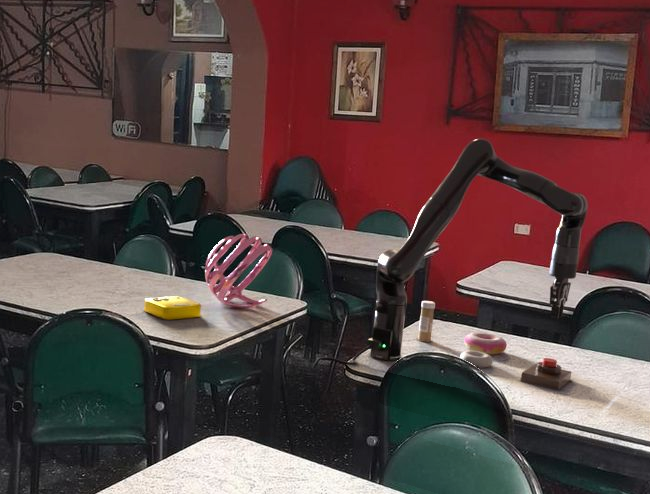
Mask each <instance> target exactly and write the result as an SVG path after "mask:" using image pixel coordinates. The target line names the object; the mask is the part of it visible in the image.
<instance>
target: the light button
mask: <svg viewBox="0 0 650 494" xmlns="http://www.w3.org/2000/svg"><path fill="white" fill-rule="evenodd" d="M542 362H543V364H542V365H543V366H546V367H551V368H556V365H558V361H557V360H556V359H554V358H551V357H549V358H548V357H543V358H542Z"/></svg>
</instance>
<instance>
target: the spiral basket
mask: <svg viewBox="0 0 650 494" xmlns="http://www.w3.org/2000/svg"><path fill="white" fill-rule="evenodd" d="M239 240H240V241H239ZM238 241H239V243H238V245H236V248H234V250H233V251H232V252H231V253H230V254H229V255H228V256H227V257H226V259H224V261H223V262H222V263H221V264H220V265H219V263H218V262H219V260H220V259H221V258H223V256H225V254H226V253H227V251H228V250H229V249H230V248H231V247H232V246H233V245H234V244H235V243H237V242H238ZM225 242H226V243H225ZM224 243H225V244H224ZM223 244H224V245H223ZM252 244H253V245H252ZM222 245H223V246H222ZM221 246H222V247H221ZM250 246H252V247H251V248H250V250H249V252H248V253H247V254H246V256H245V257H244V258H243V259H242V261H241V262H240V263H239V264H238V265H237V267H236V268H234V270H233V271H232V272H231V273H230V274H229V275H228V276H225V274H224V273H225V271H226V270H227V269H228V268H229V267H230V265H231V264H233V262H234V261H235V260H236V259H237V258H238V257H239V255H241V254H242V253H243V252H244V251H245V250H246V249H247V248H248V247H250ZM220 247H221V248H220ZM219 248H220V249H219ZM218 249H219V250H218ZM217 250H218V251H217ZM273 251H274V250H273V247H272V245H270V244H269V243H264V244H263V240H262V238H261V237H259V236H255V235H254V236H249V235H248V234H247V233H239V234H237V235H229V236H226V237H224V238H223V239H221V240H220V241H219V242H218V244H216V245H215V246H214V247H213V249H212V250H211V251H210V253H209V254H208V255H207V258H206V261H205V264H204V265H205V266H204V277H205V282H206V285H207V288H208V289H209V291H210V293H211V294H212V295H213V296H214V298H216V299H217V301H219V302H220V303H222V304H224V305H225V306H228V307H232V308H236V309H250V308H254V307H258V306H260V305H263V304H264V303H266V302H267V301H268V298H263V299H261V300H256V299H252V298H250V297H247V296H246V295H244V294H243V293H242V292H243V291H244V290H245V289H246V288H247V287H248V286H249V285H250V284H251V282H253V281H254V279H256V277H257V276H258V275H259V274H260V272H261V271H262V270H263V268H264V267H265V265H267V263H268V262H269V260H270V259H271V257H272V254H273ZM262 254H263V256H262V257H261V259H260V260H259V262H258V263H257V264H256V265H255V267H254V268H253V269H252V271H250V272H249V274H248V275H247V276H246V277H245V278H244V279H243V280H242V281H241V282H240V283H239V284H238V285H237V286H233V285H234V283H235V282H236V281H237V279H238V278H239V277H240V276H241V275H242V274H243V273H244V272H245V270H246V269H247V268H248V267H249V266H250V265H251V264H252V263H253V262H254V261H256V260H257V259H258V258H259V257H260V256H261V255H262ZM213 268H214V270H213V271H211V270H212V269H213ZM218 281H220V282H219V283H218V284H217V282H218ZM227 293H228V294H227ZM233 299H238V300H240V301H243V302H245V303H248V304H247V305H245V304H244V305H242V304H241V305H240V304H234V303H231V302H230V301H232V300H233Z"/></svg>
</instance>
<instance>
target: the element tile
mask: <svg viewBox="0 0 650 494" xmlns="http://www.w3.org/2000/svg"><path fill="white" fill-rule="evenodd" d="M201 310H202V304H201V303H199V302H196V301H193V300H191V299H188V298H185V297H182V296H179V295H176V296H175V295H173V296H163V297H162V296H161V297H149V298H145V299H144V312H145V313H148V314H150V315H152V316H154V317H157V318H160V319H161V320H166V321H167V320H168V321H172V320H173V321H175V320H181V319H182V320H183V319H192V318H193V319H194V318H199V317H200V316H201Z"/></svg>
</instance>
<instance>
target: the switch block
mask: <svg viewBox="0 0 650 494" xmlns="http://www.w3.org/2000/svg"><path fill="white" fill-rule="evenodd" d="M542 364H543V361H539V362H537V363H534V364H533V365H531V366H530V367H528V368H526V369H525V370H524V371H522V372H521V376H520V382H523V383H527V384H531V385H535V386H539V387H542V388H543V387H544V388H546V389H547V388H548V389H552V390H555V391H559V390H560V389H561V388H562V387H564V386H566V384H568V383H569V381H571V379H572V371H570V370H566V369H563V367H562V366H561V365H560V364H557V365H556V368H551V367H546V366H543V365H542Z"/></svg>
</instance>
